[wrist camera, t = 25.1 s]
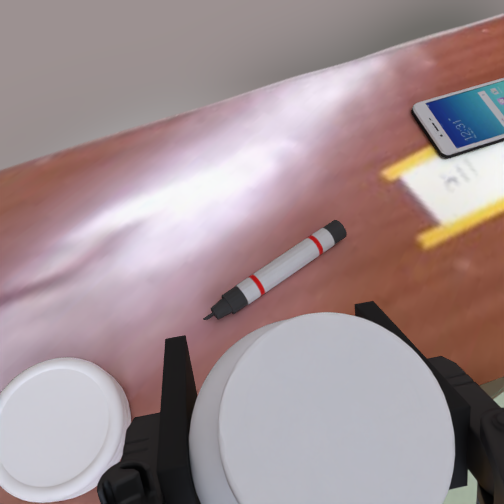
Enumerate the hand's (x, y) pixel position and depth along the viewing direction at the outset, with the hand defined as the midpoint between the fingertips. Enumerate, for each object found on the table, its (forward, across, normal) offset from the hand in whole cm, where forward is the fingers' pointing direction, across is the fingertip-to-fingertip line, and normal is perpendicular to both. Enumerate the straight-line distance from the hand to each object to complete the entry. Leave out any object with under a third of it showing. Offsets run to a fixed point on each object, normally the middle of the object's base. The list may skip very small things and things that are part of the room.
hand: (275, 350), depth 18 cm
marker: (+23, +4, -7) cm, 24 cm away
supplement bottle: (+1, 0, -6) cm, 6 cm away
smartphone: (+33, +30, +3) cm, 45 cm away
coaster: (+16, -15, -14) cm, 26 cm away
